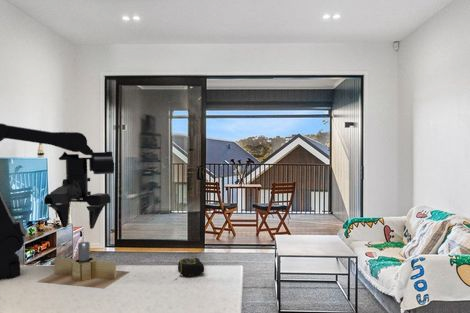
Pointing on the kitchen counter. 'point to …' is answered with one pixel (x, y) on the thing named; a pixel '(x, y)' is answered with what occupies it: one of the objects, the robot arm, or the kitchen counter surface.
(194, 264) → the tape measure
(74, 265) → the brass hinge
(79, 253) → the hinge pin
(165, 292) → the kitchen counter surface
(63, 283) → the walnut board
